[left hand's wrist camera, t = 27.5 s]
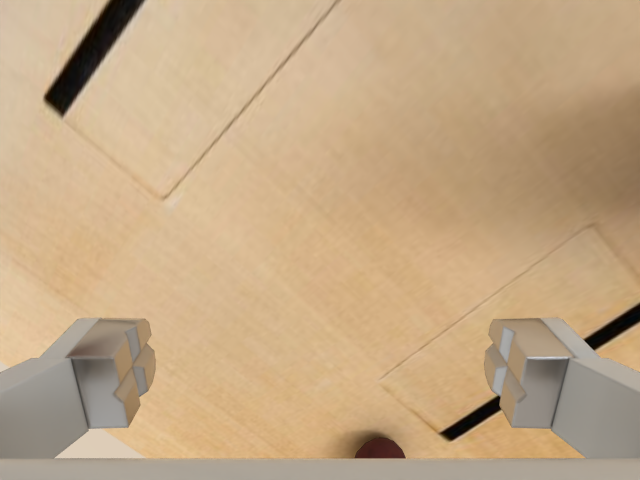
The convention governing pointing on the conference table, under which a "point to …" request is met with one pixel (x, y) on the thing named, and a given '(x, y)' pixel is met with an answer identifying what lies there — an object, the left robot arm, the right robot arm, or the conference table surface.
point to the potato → (380, 450)
